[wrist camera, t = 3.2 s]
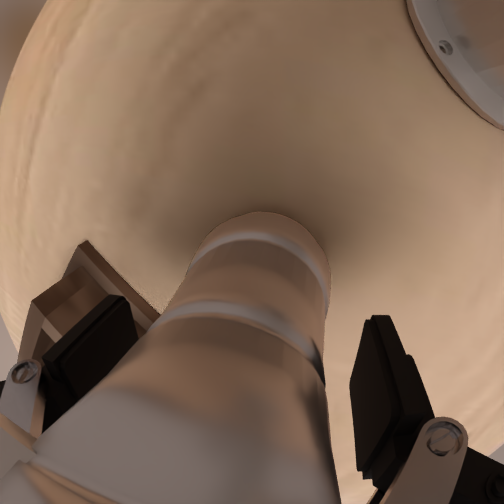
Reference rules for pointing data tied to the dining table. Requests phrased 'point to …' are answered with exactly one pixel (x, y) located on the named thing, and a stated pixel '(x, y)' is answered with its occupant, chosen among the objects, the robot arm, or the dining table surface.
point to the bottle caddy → (77, 302)
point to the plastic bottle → (208, 389)
